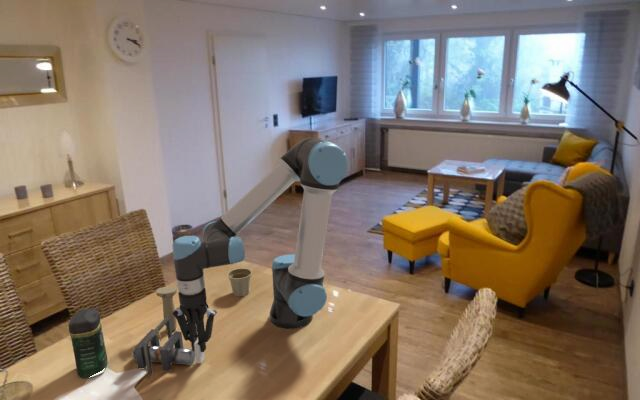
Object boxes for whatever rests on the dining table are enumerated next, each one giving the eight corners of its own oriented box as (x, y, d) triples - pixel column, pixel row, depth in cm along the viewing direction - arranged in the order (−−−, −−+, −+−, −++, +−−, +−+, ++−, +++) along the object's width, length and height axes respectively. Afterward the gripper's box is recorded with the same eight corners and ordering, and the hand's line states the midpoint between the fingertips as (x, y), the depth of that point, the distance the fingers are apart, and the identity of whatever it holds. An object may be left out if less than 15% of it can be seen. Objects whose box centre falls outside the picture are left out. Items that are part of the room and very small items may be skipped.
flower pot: (233, 287, 182) (231, 267, 179) (256, 288, 180) (254, 268, 178) (225, 298, 173) (223, 278, 170) (249, 299, 172) (247, 279, 169)
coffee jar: (105, 376, 130) (95, 320, 125) (75, 382, 128) (63, 325, 123) (110, 356, 139) (100, 303, 134) (82, 362, 137) (71, 308, 131)
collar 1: (160, 349, 142) (157, 329, 140) (144, 368, 133) (140, 348, 131) (154, 349, 142) (151, 329, 140) (137, 368, 133) (134, 347, 131)
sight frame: (173, 346, 143) (169, 316, 140) (150, 374, 130) (145, 342, 127) (171, 346, 144) (167, 315, 140) (147, 374, 130) (142, 341, 127)
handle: (179, 333, 151) (173, 293, 146) (159, 333, 150) (154, 293, 146) (183, 325, 155) (178, 286, 151) (164, 325, 155) (159, 286, 151)
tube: (196, 357, 137) (194, 346, 135) (189, 368, 133) (187, 356, 131) (142, 352, 140) (139, 341, 139) (134, 362, 136) (131, 351, 134)
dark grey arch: (183, 351, 141) (181, 331, 138) (168, 371, 131) (165, 350, 129) (178, 351, 141) (175, 331, 139) (162, 370, 132) (159, 349, 130)
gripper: (164, 294, 125) (174, 365, 132) (207, 297, 123) (215, 370, 130) (177, 282, 133) (186, 350, 139) (218, 284, 130) (225, 354, 137)
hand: (200, 359), depth 135 cm, fingers closed
